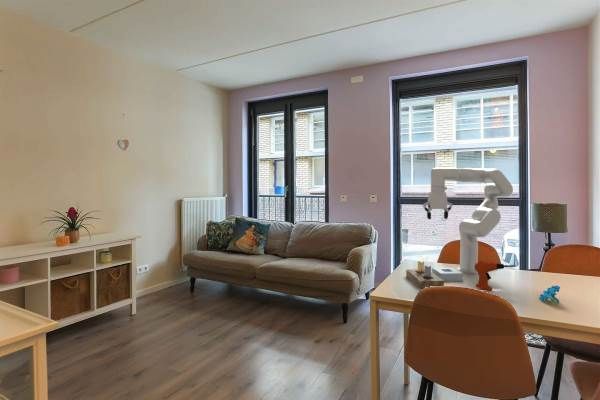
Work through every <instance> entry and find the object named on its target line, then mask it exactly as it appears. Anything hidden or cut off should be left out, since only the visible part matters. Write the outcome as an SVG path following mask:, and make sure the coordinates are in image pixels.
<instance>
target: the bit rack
mask: <svg viewBox="0 0 600 400" xmlns="http://www.w3.org/2000/svg"><path fill="white" fill-rule="evenodd" d="M405 274H406V275H405V277H406V278H407V279H408V280H409V281H411V283H413V284H414V285H415V286H417V288H419V289H420V290H424V289H423V288H425V287H430V286H444V287H445V281H444V280H442V279H441V278H439V277H438V276H436V275H435V274H433V273H432V271H431V279H424V273H422V274H418V268H417V269H415V268H413V269H411V268H409V269H406V271H405Z"/></svg>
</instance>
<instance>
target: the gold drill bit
mask: <svg viewBox="0 0 600 400" xmlns="http://www.w3.org/2000/svg"><path fill="white" fill-rule="evenodd" d="M424 268H425V261H424V260H418V261H417V269H418V274H422V273H424Z"/></svg>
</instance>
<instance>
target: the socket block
mask: <svg viewBox="0 0 600 400" xmlns="http://www.w3.org/2000/svg"><path fill="white" fill-rule="evenodd" d="M431 272H432V273H433V274H435V275H436V276H438V277H439V278H441V279H442V280H444V282H445V281H447V282H449V281H450V282H451V281H452V282H453V281H454V282H455V281H456V282H457V281H458V282H459V281H463V280H464V279H463V276H464V274H463V273H464V272H463V271H459V270H458V269H457V268H454V267H453V266H451V267H431Z"/></svg>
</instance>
